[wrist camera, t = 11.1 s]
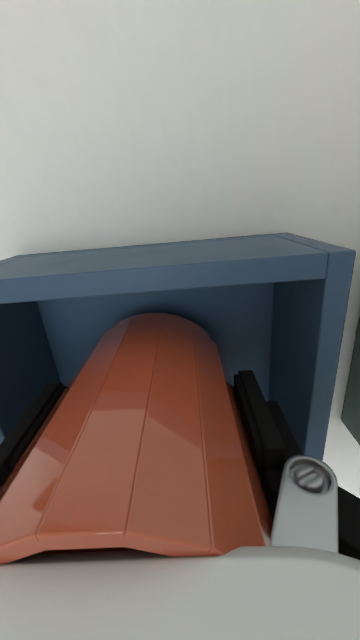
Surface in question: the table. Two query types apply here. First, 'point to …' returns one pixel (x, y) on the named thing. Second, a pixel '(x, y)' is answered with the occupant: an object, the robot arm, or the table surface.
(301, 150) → the table surface
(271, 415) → the robot arm
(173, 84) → the table surface
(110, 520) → the cup
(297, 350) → the basin
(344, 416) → the green dial base
